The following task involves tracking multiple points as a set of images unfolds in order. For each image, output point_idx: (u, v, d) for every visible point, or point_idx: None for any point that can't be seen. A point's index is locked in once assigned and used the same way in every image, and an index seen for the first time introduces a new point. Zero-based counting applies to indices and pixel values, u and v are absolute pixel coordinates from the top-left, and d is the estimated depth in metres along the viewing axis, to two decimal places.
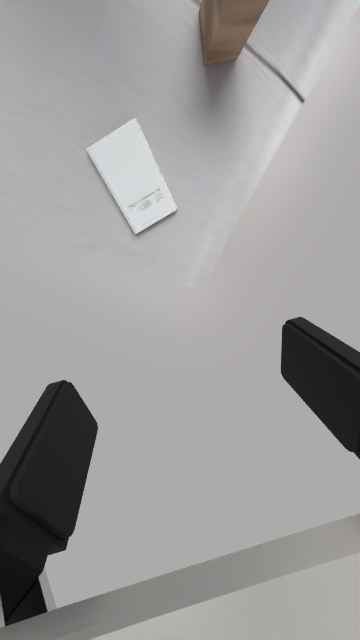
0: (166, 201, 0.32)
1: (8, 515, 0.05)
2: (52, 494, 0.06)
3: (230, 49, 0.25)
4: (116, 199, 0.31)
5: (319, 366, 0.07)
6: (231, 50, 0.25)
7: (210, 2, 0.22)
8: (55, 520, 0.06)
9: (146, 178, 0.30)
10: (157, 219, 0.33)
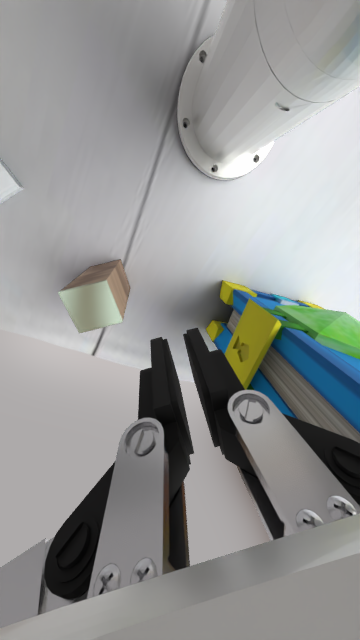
0: None
1: (171, 419, 0.06)
2: (183, 416, 0.07)
3: None
4: None
5: (194, 372, 0.08)
6: None
7: (103, 268, 0.25)
8: None
9: None
10: None
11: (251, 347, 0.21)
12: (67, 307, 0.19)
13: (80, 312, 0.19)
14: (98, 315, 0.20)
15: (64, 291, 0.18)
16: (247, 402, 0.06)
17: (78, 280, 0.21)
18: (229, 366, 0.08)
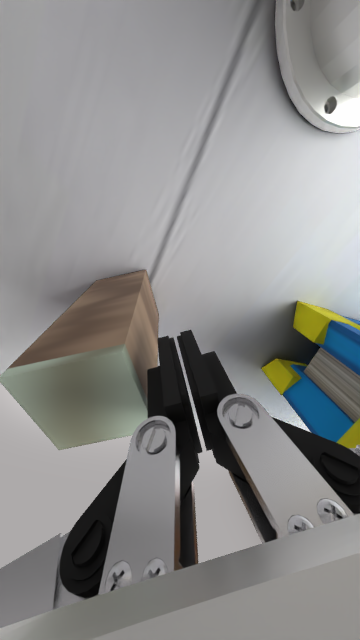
0: None
1: (181, 418, 0.06)
2: (192, 414, 0.07)
3: None
4: None
5: None
6: None
7: (117, 289, 0.14)
8: None
9: None
10: None
11: None
12: (26, 407, 0.08)
13: (59, 415, 0.08)
14: (101, 420, 0.08)
15: (15, 374, 0.07)
16: (237, 406, 0.06)
17: (64, 324, 0.10)
18: (222, 369, 0.08)
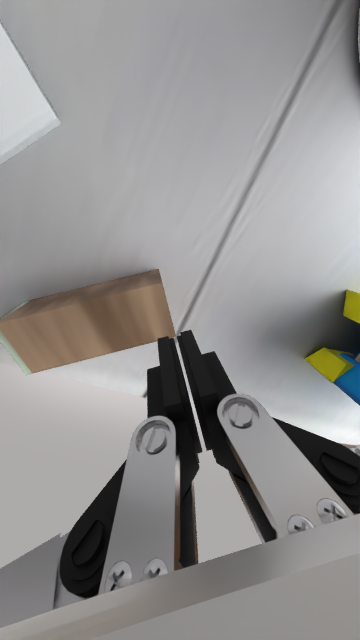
0: None
1: (181, 418, 0.06)
2: (192, 414, 0.07)
3: None
4: None
5: None
6: None
7: (107, 289, 0.15)
8: None
9: None
10: None
11: None
12: None
13: None
14: None
15: (22, 304, 0.17)
16: (237, 406, 0.06)
17: (61, 295, 0.17)
18: (222, 369, 0.08)
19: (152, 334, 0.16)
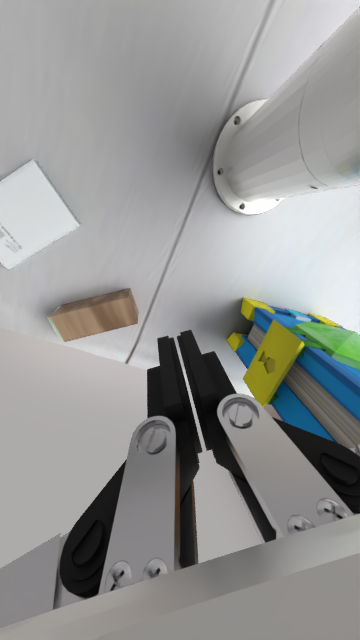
0: (10, 256, 0.28)
1: (181, 418, 0.06)
2: (192, 414, 0.07)
3: None
4: None
5: None
6: None
7: (102, 300, 0.31)
8: None
9: (26, 233, 0.27)
10: None
11: (277, 362, 0.25)
12: None
13: None
14: None
15: (58, 307, 0.32)
16: (237, 406, 0.06)
17: (78, 302, 0.32)
18: (222, 369, 0.08)
19: (125, 322, 0.31)
